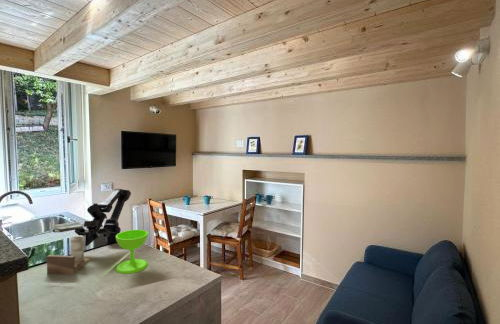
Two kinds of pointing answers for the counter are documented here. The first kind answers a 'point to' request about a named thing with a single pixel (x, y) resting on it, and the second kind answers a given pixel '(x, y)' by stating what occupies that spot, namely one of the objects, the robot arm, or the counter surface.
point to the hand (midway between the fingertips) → (86, 245)
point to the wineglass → (131, 250)
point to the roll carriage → (78, 249)
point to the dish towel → (66, 226)
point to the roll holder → (62, 265)
